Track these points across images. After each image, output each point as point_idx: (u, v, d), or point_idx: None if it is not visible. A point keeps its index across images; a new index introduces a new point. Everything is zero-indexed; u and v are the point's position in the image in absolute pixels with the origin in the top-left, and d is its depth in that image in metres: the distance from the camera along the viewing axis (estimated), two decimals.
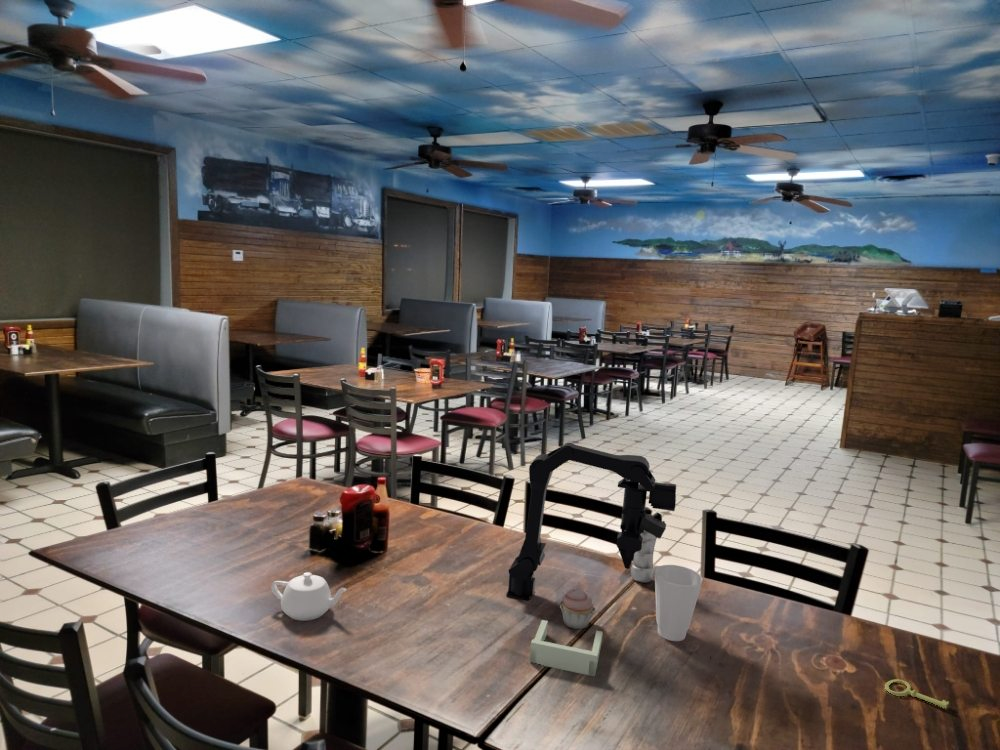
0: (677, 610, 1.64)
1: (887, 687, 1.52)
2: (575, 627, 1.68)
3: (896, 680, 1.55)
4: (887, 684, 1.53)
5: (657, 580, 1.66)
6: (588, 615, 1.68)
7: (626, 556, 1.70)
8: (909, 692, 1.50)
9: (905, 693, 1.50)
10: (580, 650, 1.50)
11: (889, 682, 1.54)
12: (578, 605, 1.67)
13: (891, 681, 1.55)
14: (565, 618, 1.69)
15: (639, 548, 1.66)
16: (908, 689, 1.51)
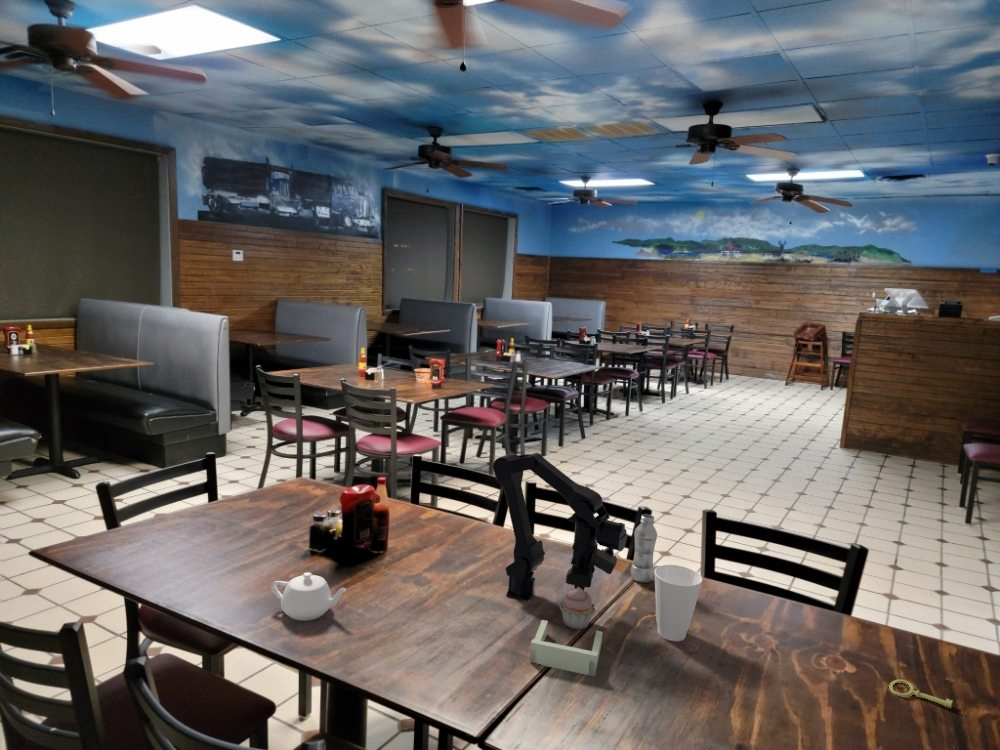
0: (677, 610, 1.64)
1: (892, 689, 1.51)
2: (575, 627, 1.68)
3: (898, 680, 1.55)
4: (891, 685, 1.53)
5: (657, 580, 1.66)
6: (588, 615, 1.67)
7: None
8: (913, 692, 1.50)
9: (910, 694, 1.49)
10: (580, 650, 1.50)
11: (892, 683, 1.54)
12: (578, 605, 1.67)
13: (894, 682, 1.54)
14: (565, 618, 1.69)
15: (588, 585, 1.65)
16: (912, 689, 1.51)
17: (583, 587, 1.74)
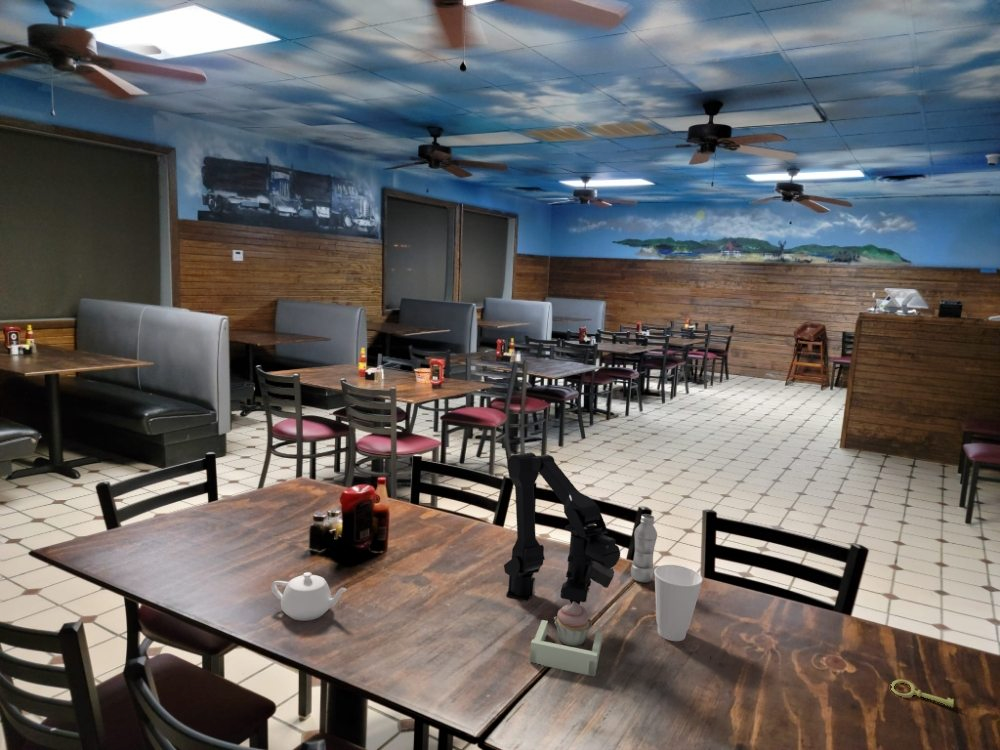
0: (677, 610, 1.64)
1: (893, 689, 1.51)
2: (570, 644, 1.60)
3: (899, 680, 1.55)
4: (892, 686, 1.53)
5: (657, 580, 1.66)
6: (584, 631, 1.60)
7: None
8: (915, 692, 1.50)
9: (912, 694, 1.50)
10: (580, 650, 1.50)
11: (893, 683, 1.54)
12: (574, 621, 1.59)
13: (894, 682, 1.54)
14: (560, 634, 1.61)
15: (584, 600, 1.57)
16: (913, 689, 1.51)
17: (579, 601, 1.66)
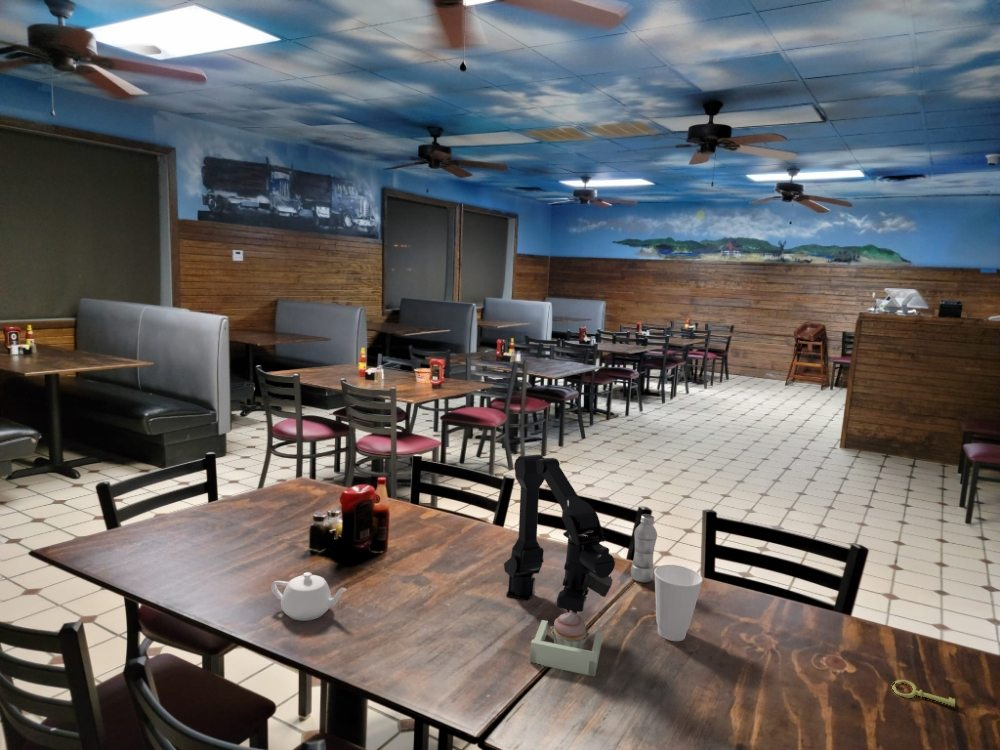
0: (677, 610, 1.64)
1: (895, 690, 1.51)
2: None
3: (900, 681, 1.55)
4: (893, 686, 1.53)
5: (657, 580, 1.66)
6: (581, 641, 1.55)
7: None
8: (916, 693, 1.50)
9: (914, 694, 1.49)
10: (580, 650, 1.50)
11: (894, 684, 1.54)
12: (571, 631, 1.55)
13: (896, 682, 1.54)
14: None
15: (580, 610, 1.53)
16: (915, 689, 1.51)
17: None
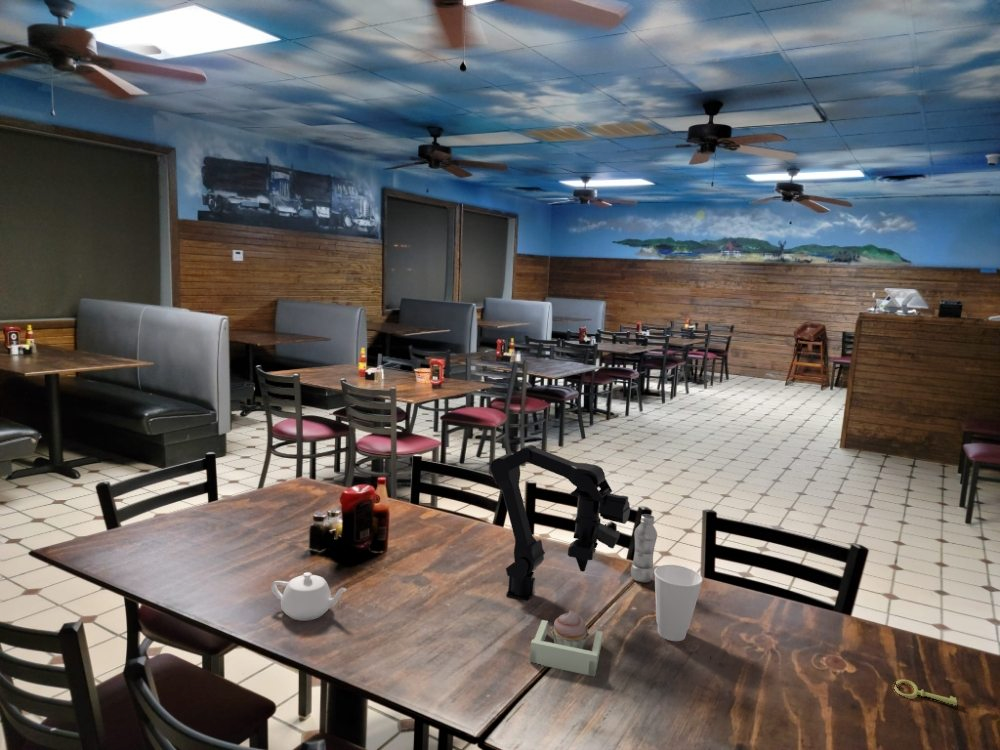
0: (677, 610, 1.64)
1: (897, 690, 1.51)
2: None
3: (900, 680, 1.55)
4: (895, 687, 1.53)
5: (657, 580, 1.66)
6: (581, 641, 1.55)
7: (581, 559, 1.73)
8: (918, 692, 1.50)
9: (916, 694, 1.49)
10: (580, 650, 1.50)
11: None
12: (571, 631, 1.55)
13: (897, 682, 1.54)
14: None
15: (590, 558, 1.65)
16: (916, 689, 1.51)
17: (585, 562, 1.73)
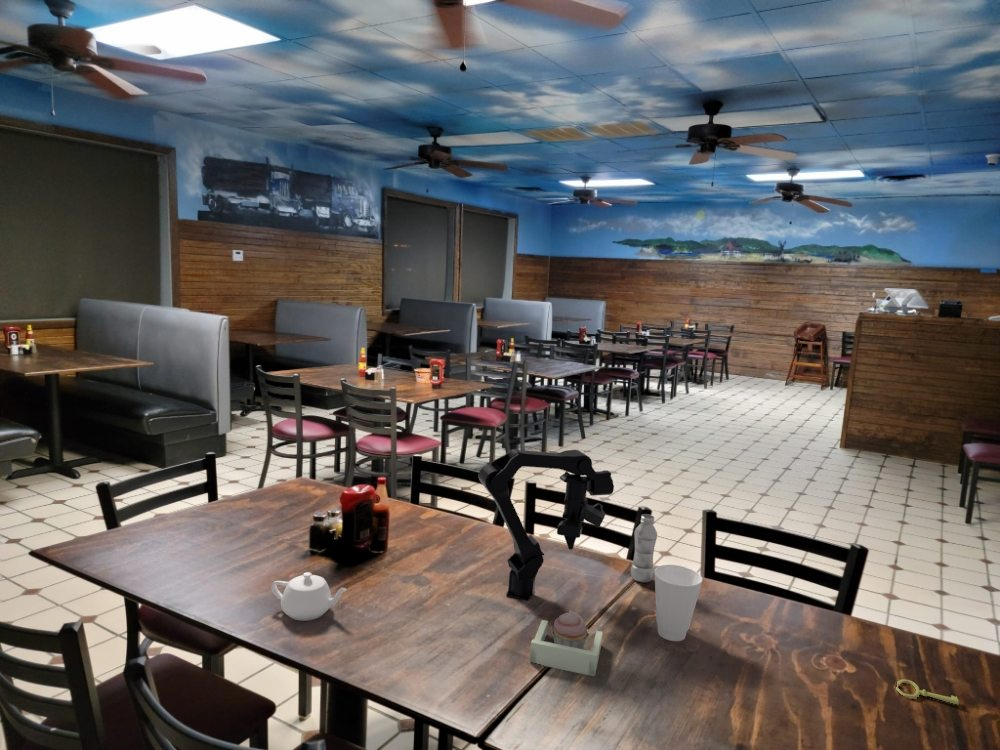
0: (677, 610, 1.64)
1: (900, 691, 1.51)
2: None
3: (901, 680, 1.55)
4: (897, 687, 1.52)
5: (657, 580, 1.66)
6: (581, 641, 1.55)
7: (569, 538, 1.86)
8: (920, 692, 1.50)
9: (918, 694, 1.49)
10: (580, 650, 1.50)
11: (897, 684, 1.54)
12: (571, 631, 1.55)
13: (898, 683, 1.54)
14: None
15: (577, 536, 1.78)
16: (918, 689, 1.51)
17: (573, 540, 1.86)
